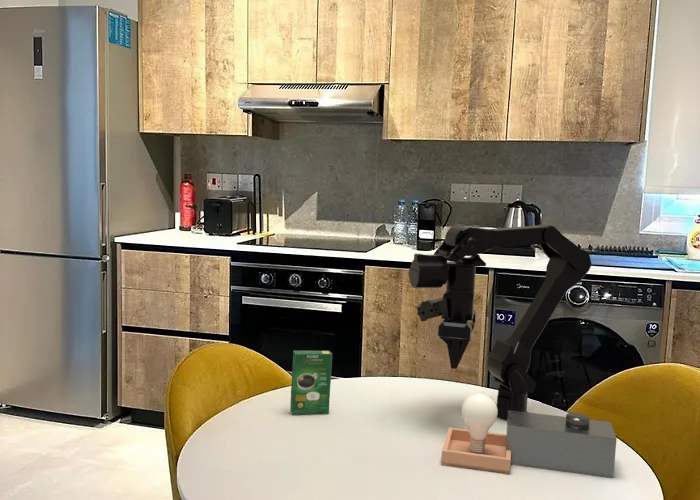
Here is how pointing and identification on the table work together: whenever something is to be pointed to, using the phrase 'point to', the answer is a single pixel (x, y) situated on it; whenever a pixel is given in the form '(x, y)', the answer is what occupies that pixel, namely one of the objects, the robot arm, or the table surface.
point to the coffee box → (311, 382)
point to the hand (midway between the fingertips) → (455, 362)
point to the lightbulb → (479, 419)
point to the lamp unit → (561, 443)
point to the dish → (461, 455)
